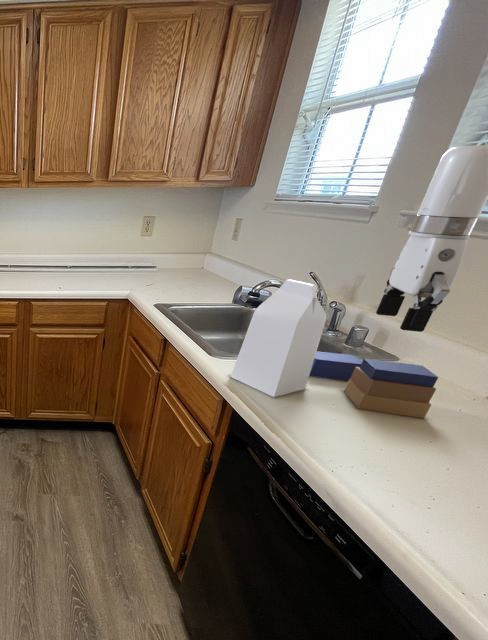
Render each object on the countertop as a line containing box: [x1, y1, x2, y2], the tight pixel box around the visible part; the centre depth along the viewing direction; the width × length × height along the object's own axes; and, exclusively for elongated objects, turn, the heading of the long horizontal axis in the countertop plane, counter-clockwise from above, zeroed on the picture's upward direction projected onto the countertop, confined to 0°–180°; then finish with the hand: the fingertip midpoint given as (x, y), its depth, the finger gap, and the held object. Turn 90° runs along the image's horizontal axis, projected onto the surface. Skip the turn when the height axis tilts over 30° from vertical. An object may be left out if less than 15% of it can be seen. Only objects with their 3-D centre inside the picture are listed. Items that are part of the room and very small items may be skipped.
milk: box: [230, 279, 327, 398], centre depth 102 cm, size 12×12×26 cm
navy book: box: [360, 358, 439, 387], centre depth 94 cm, size 11×6×2 cm, turn 69°
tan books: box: [343, 367, 437, 419], centre depth 96 cm, size 12×9×7 cm
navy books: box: [309, 350, 363, 382], centre depth 111 cm, size 11×7×5 cm, turn 69°
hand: (397, 322), depth 79 cm, fingers open, 9 cm apart
